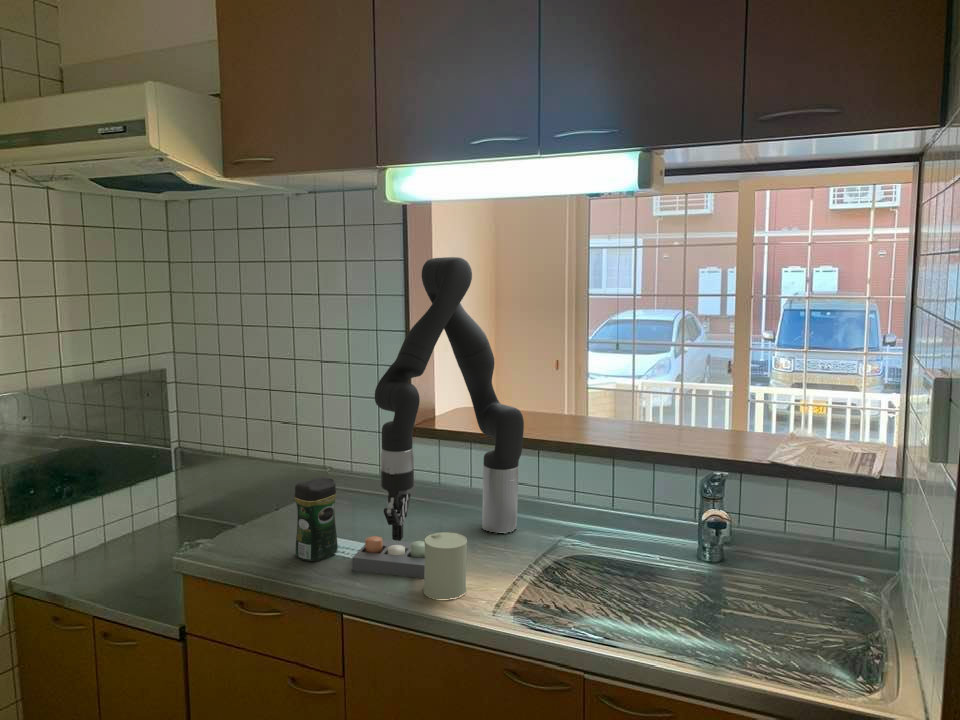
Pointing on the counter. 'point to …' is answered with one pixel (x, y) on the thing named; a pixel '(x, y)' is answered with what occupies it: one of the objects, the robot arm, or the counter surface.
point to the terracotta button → (374, 544)
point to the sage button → (417, 549)
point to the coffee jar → (316, 519)
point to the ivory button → (396, 550)
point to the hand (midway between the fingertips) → (397, 539)
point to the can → (445, 565)
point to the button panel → (389, 561)
